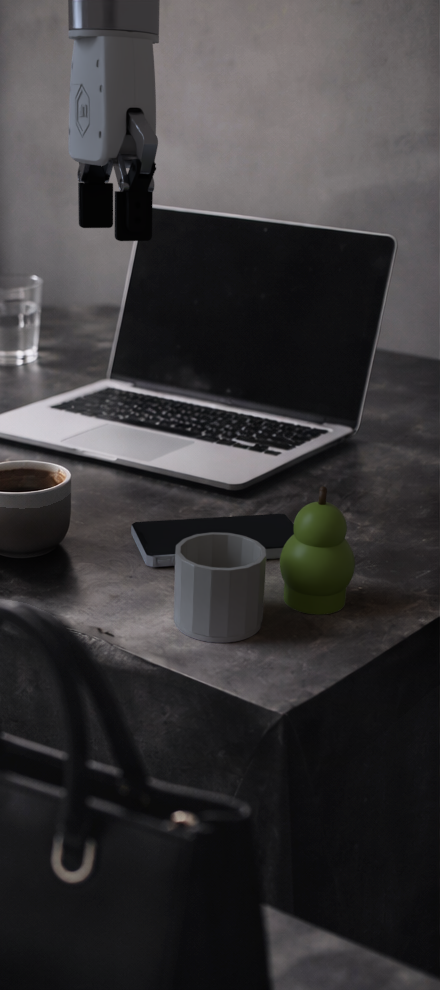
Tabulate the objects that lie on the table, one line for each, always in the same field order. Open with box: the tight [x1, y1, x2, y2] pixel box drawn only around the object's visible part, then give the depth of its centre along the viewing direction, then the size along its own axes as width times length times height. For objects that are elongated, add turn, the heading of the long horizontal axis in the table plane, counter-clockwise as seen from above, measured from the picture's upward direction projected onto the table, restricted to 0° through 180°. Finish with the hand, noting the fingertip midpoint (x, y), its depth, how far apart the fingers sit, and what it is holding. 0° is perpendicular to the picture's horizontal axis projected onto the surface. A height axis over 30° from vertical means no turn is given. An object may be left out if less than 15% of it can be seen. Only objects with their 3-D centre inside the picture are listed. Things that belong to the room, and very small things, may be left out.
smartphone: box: [130, 513, 294, 568], centre depth 89 cm, size 8×1×15 cm
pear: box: [279, 485, 356, 616], centre depth 78 cm, size 6×6×10 cm
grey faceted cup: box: [173, 532, 267, 644], centre depth 75 cm, size 7×7×6 cm
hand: (113, 233), depth 87 cm, fingers open, 9 cm apart
